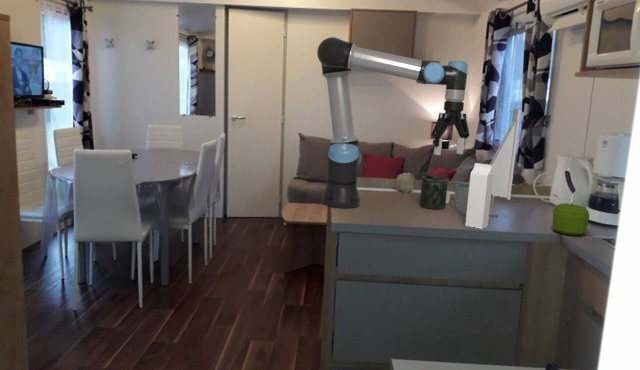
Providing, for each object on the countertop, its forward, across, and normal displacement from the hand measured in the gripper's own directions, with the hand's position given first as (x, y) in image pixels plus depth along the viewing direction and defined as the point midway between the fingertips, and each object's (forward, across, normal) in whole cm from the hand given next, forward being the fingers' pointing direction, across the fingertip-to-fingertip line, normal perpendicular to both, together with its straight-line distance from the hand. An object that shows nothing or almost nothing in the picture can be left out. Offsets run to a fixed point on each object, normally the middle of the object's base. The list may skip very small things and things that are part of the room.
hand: (448, 154), depth 213 cm
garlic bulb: (+22, +5, +28) cm, 36 cm away
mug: (+21, -8, -1) cm, 23 cm away
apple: (+21, +7, -50) cm, 54 cm away
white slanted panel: (+21, +43, +8) cm, 48 cm away
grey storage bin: (+21, +6, -10) cm, 24 cm away
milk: (+21, -15, -29) cm, 39 cm away
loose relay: (+21, +4, +5) cm, 22 cm away
